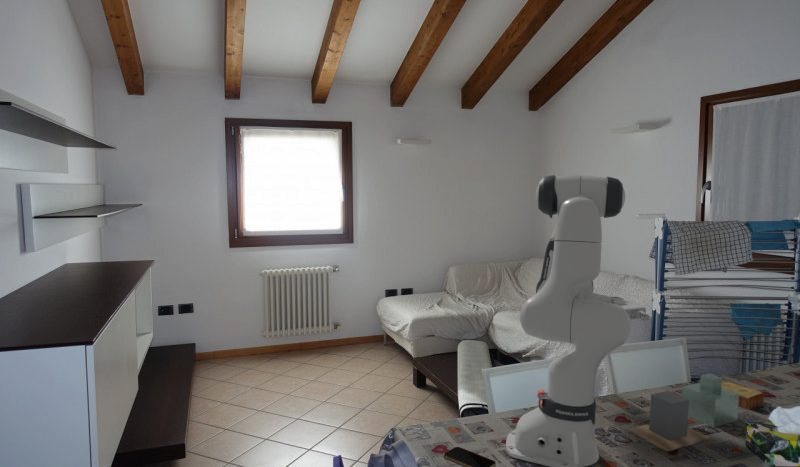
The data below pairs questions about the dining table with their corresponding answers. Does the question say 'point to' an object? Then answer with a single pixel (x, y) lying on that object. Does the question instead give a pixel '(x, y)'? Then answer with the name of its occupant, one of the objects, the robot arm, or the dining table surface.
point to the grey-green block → (711, 401)
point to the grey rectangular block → (669, 415)
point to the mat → (664, 443)
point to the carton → (745, 395)
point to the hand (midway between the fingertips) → (635, 319)
